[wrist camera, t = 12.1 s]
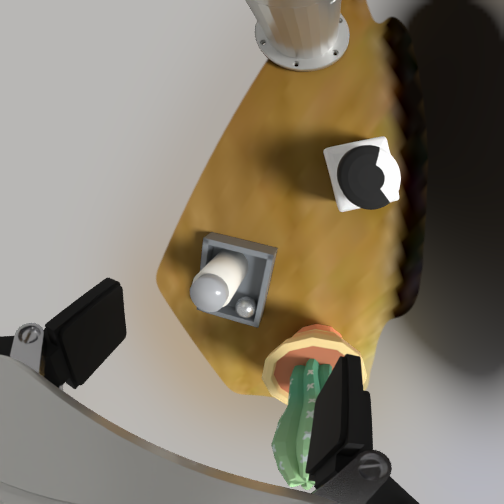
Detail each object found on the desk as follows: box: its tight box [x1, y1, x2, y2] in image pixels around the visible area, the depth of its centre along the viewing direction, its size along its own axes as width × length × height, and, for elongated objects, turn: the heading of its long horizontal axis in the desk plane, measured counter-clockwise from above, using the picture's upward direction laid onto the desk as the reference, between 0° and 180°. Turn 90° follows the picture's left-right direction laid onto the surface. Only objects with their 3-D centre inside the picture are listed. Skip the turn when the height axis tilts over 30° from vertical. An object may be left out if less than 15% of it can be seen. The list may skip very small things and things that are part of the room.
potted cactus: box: [262, 324, 367, 490], centre depth 32 cm, size 15×15×25 cm
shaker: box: [190, 249, 249, 312], centre depth 37 cm, size 5×5×10 cm
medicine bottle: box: [323, 136, 401, 212], centre depth 28 cm, size 7×7×12 cm
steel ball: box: [235, 297, 257, 318], centre depth 42 cm, size 3×3×3 cm
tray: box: [197, 232, 277, 327], centre depth 42 cm, size 12×10×3 cm
